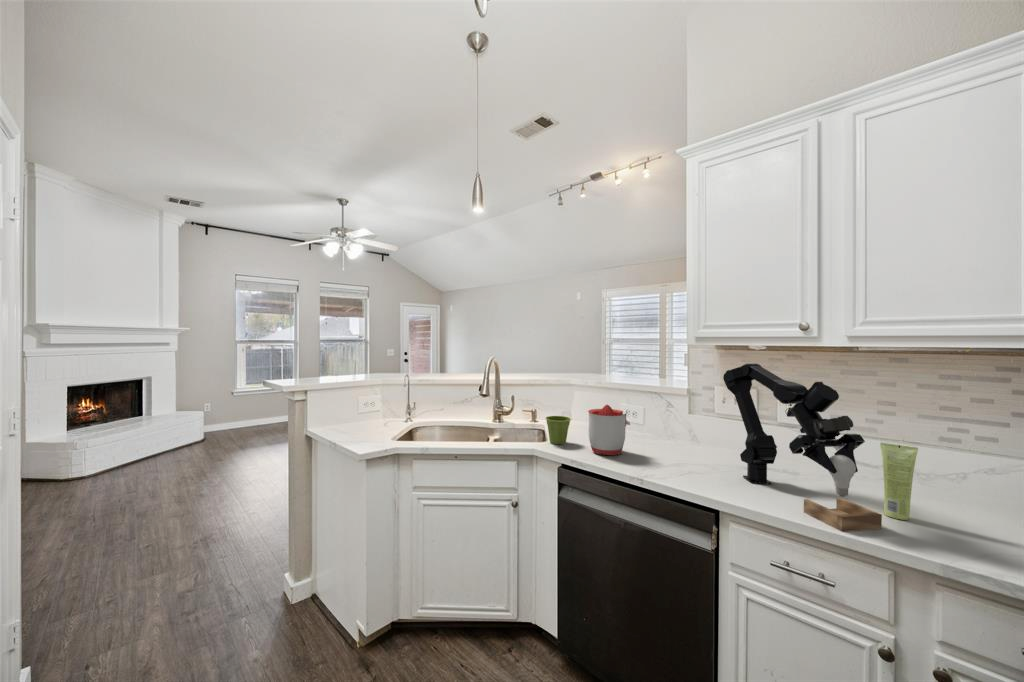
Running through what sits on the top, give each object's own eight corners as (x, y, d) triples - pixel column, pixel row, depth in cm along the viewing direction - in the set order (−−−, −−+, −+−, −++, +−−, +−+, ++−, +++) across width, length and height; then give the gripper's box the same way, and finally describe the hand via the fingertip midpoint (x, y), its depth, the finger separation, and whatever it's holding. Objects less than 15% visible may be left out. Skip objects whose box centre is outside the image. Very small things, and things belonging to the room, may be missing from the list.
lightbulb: (836, 501, 108) (834, 458, 108) (822, 492, 114) (820, 452, 114) (863, 501, 107) (861, 458, 107) (847, 492, 113) (845, 451, 113)
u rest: (803, 512, 115) (803, 499, 115) (840, 510, 117) (840, 497, 117) (841, 531, 104) (841, 516, 104) (881, 528, 105) (881, 514, 105)
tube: (898, 512, 116) (899, 442, 115) (917, 520, 110) (918, 446, 110) (879, 512, 115) (880, 442, 115) (897, 521, 110) (898, 447, 110)
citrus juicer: (634, 457, 167) (635, 407, 167) (590, 457, 167) (591, 407, 167) (624, 447, 182) (625, 401, 182) (584, 447, 183) (585, 401, 183)
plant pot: (542, 444, 186) (542, 419, 186) (547, 438, 197) (548, 415, 197) (568, 447, 182) (569, 421, 182) (572, 440, 194) (573, 416, 193)
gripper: (798, 405, 113) (834, 458, 102) (859, 404, 115) (900, 456, 104) (775, 428, 121) (806, 479, 110) (832, 426, 123) (868, 476, 112)
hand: (845, 472), depth 109 cm, fingers closed on lightbulb, 6 cm apart
